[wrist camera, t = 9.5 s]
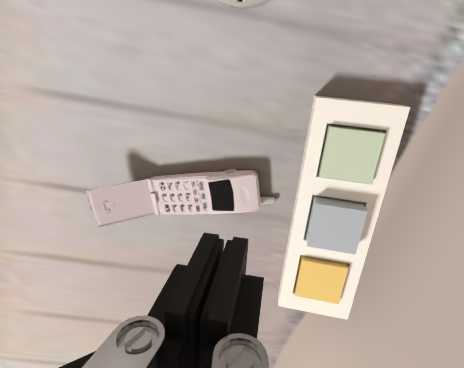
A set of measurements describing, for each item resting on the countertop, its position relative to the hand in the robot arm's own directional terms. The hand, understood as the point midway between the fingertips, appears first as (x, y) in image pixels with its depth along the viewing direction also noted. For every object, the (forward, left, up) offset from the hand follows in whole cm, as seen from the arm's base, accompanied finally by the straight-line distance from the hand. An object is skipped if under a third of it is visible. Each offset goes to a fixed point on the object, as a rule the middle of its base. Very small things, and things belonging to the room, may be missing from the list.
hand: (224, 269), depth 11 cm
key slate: (+10, +10, -28) cm, 31 cm away
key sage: (+1, +10, -29) cm, 30 cm away
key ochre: (+19, +10, -29) cm, 36 cm away
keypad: (+10, +10, -30) cm, 33 cm away
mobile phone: (+10, -11, -31) cm, 34 cm away
